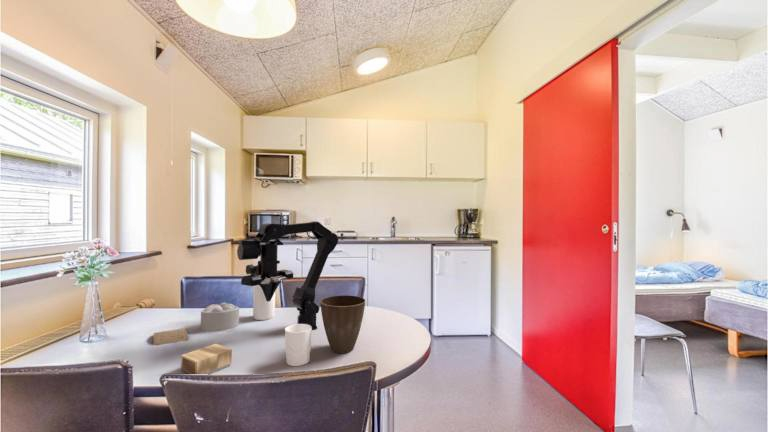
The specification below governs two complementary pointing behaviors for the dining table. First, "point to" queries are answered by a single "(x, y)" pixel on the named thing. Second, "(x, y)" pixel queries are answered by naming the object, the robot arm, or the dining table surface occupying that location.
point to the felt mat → (218, 369)
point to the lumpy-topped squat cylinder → (219, 317)
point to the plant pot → (342, 321)
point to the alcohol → (262, 304)
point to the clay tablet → (170, 336)
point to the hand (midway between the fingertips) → (268, 301)
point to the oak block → (206, 359)
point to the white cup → (298, 344)
